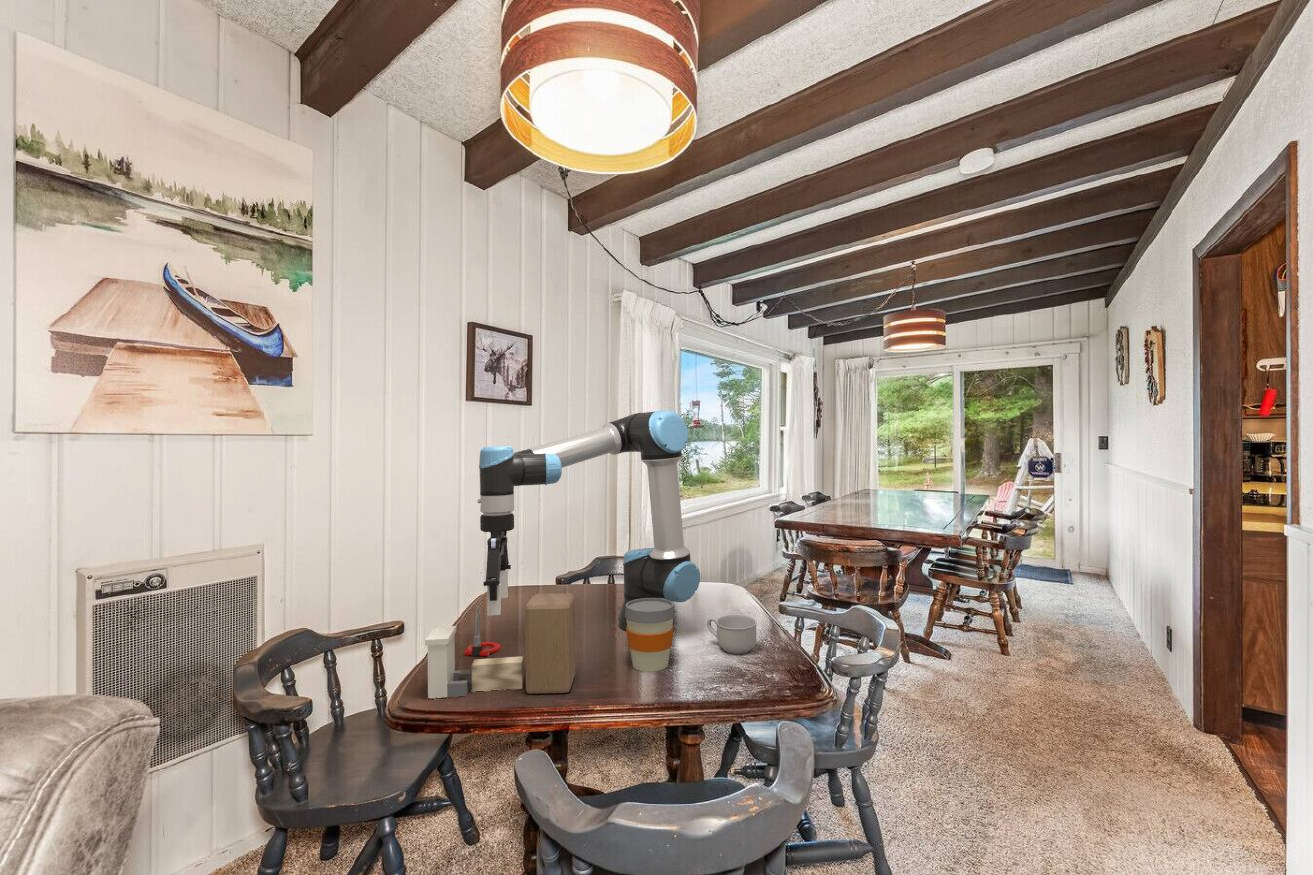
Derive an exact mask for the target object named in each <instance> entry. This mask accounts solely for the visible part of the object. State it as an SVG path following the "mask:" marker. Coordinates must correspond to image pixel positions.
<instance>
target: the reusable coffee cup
mask: <svg viewBox="0 0 1313 875" xmlns="http://www.w3.org/2000/svg"><path fill="white" fill-rule="evenodd" d="M675 615H676V612H675V605H674V601H669V600H666V599H664V598H662V599H660V598H642V599H636V600H632V601H630V602H628V603H627V604H626V609H625V618H626V619H627V627H626V630H625V631H626V636H627V644H628V647H629V648H630V653H631V654H630V655H631V662H632V667H633V668H634V669H635V670H637V671H641V672H646V673H647V672H648V673H651V672H654V673H655V672H659V671H662V670H665V669H666V668H668V666H669V662H670V661H669V660H670V651H671V648H672V645H673V638H674V629H675V626H674V618H675Z"/></svg>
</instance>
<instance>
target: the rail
mask: <svg viewBox="0 0 1313 875" xmlns="http://www.w3.org/2000/svg"><path fill="white" fill-rule="evenodd" d="M458 676H459V681H462V680H467V684H468V691H469V692H471V693H476V692H475V691H484V692H492V691H491V690H498V691H507V690H506V689H511V690H520V689H521V690H522V689H523V686H524V682H525V681H524V656H523V655H521V656H507V657H494V658H493V657H492V658H479V659H478V658H477V659H474V660H473V661H472V664H471V669H460V672H459V674H458ZM502 689H503V690H502ZM471 690H472V691H471Z"/></svg>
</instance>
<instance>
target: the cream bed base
mask: <svg viewBox="0 0 1313 875" xmlns="http://www.w3.org/2000/svg"><path fill="white" fill-rule="evenodd" d="M457 627H458V626H457V625H446V626H435V627H434V628H433V629H432V631H431V632H430V633H429V635H428V636H427V637H426V638H425V640H424V646H427V699H428V698H436V697H437V698H441V697H453V696H466V695H467V696H468V694H467V693H468V684H467V680H462V681H459V676H458V674H459V672H460V670H461V669H460V670H459V669H458V670H456V669H455V668H456V667H455V666H456V661H455V660H456V659H455V658H456V656H455V655H456V654H455V650H456V649H455V647H456V645H455V642H456V641H455V634H456V632H457ZM467 696H466V697H467Z"/></svg>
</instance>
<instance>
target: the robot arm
mask: <svg viewBox="0 0 1313 875" xmlns="http://www.w3.org/2000/svg"><path fill="white" fill-rule="evenodd" d="M688 441H689V429H688V426H687V423H686V422H685V420H684V419H683V418H682V417H681V416H680V415H679V414H678V413H677V412H675V411H672V410H657V411H647V412H637V413H633V414H630V415H627V416H623V417H622V418H618V419H617V420H614V421H610V422H607V423H604V424H603V425H602V427H601V428H598V429H595V430H590V431H587V432H584V433H580V434H576V435H573V436H572V435H571V436H569V437H566V438H562V439H559V440H554V441H552V442H548V443H544V444H540V445H538V446H533V447H530V448H527V449H524V450H520V451H516V452H514V448H513V447H512V446H510V445H509V446H506V445H504V446H503V445H502V446H483V447H482V448H480V452H479V464H478V468H479V495H480V496H479V497H480V498H479V499H477V503H478V504H480V507H479V508H480V513H482V514H481V515H480V517H479V525H480V526H479V529H480V531H481V532H484V533H490V537H489V538H488V539H487V542H486V543H487V544H486V545H487V555H486V570H485V571H486V573H485V580H484V581H483V584H482V585H483V587H486V594H487V595H486V600H487V602H486V603H487V604H486V606H487V608H486V609H487V611H486V612H487V616H500V615H501V614H502V613H501V612H502V609H501V608H502V607H501V606H502V604H501V602H502V601H501V599H508V598H509V571H508V570H512V569H511V568H512V565H511V564H510V562H509V552H508V537H507V534H508V532H510V531H513V530H514V529H515V514H514V513H513V511H515V494H514V493H515V487H520V486H537V485H538V486H539V485H545V486H547V485H551V484H552V485H553V484H556V483H558V482H559V481H560V479H561V478H562V473H563V468H565V467H569V466H572V465H575V464H579V463H582V462H584V461H588V460H592V459H594V458H598V457H600V456H604V455H605V456H606V454H611V455H612V456H616V455H619V454H622V453H640V460H641V461H642V463H644V464H645V465H646V467H647V478H648V479H647V481H648V491H649V502H650V504H649V505H650V514H651V524H652V536H653V538H652V539H653V547H646V548H636V549H631V550H628V551H626V552H625V553H624V554H623V561H622V562H623V563H622V566H623V603H622V606H621V609H620V612H619V616H618V627H619V628H620V629H622V630H624V631H626V627H627V619H626V618H625V609H626V604H627V603H628V602H630V601H632V600H636V599H642V598H660V599H666V600H669V601H671V602H673V603H684V602H686V601H688V600H689V601H690V599H691V598H692V597H693V596H694V595H695V594H696V591H698V588H699V586H700V582H701V572H700V568H699V566H697V565H696V564H695V562H693V561H692V560H691V551H690V549H688V548H687V546H685V543H684V542H685V541H684V531H683V530H684V529H683V518H682V506H681V492H680V482H679V481H680V480H679V469H678V463H679V461H680V460H681V459H682V457H683V456H682V454H683V453H682V451H683V449H685V448H686V446H687V445H686V444H687V443H688Z"/></svg>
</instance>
